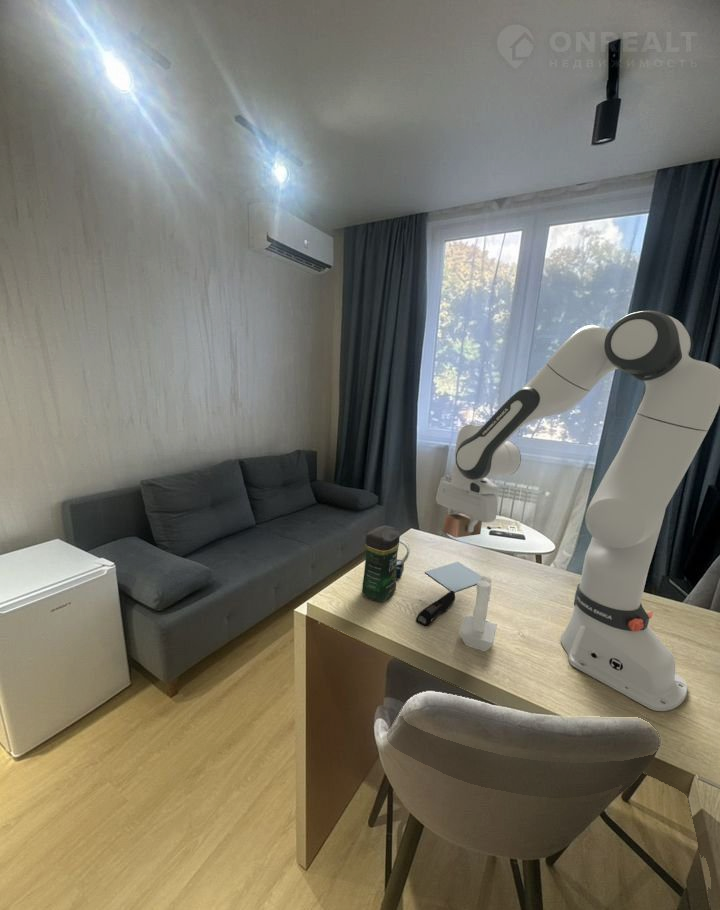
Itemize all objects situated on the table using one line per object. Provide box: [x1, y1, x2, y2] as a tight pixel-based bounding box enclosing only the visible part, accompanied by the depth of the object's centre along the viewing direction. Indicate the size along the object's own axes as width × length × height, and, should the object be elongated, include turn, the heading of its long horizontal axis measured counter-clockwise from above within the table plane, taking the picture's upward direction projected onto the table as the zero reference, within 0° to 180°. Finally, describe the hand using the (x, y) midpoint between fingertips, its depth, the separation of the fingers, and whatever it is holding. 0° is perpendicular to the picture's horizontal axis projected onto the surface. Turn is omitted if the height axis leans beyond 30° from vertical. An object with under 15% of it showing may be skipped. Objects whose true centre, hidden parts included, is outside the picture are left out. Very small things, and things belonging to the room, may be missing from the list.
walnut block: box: [442, 513, 483, 538], centre depth 108 cm, size 5×5×10 cm
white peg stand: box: [458, 575, 498, 653], centre depth 83 cm, size 7×9×15 cm
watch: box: [396, 537, 411, 580], centre depth 112 cm, size 6×8×11 cm
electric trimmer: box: [415, 590, 456, 628], centre depth 95 cm, size 4×15×3 cm, turn 137°
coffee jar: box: [361, 524, 401, 602], centre depth 100 cm, size 10×8×19 cm
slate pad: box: [424, 561, 483, 593], centre depth 112 cm, size 12×14×1 cm
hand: (460, 527), depth 108 cm, fingers closed on walnut block, 5 cm apart
